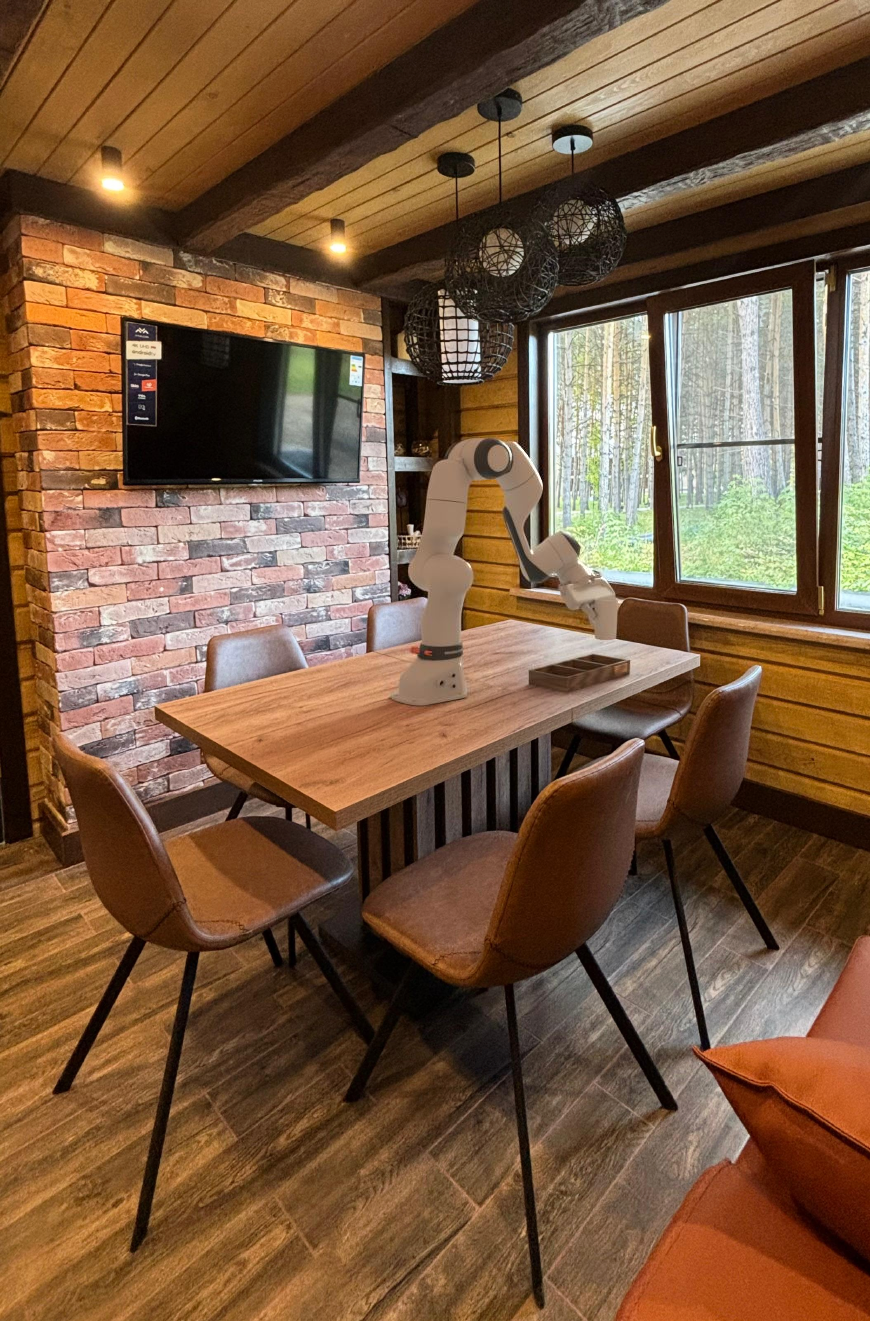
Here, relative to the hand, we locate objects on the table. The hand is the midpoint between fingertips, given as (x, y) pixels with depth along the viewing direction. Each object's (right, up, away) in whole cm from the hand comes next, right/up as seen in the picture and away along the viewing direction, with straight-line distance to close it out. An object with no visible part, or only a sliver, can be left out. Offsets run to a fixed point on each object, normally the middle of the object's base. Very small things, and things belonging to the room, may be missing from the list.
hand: (603, 615), depth 224 cm
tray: (-7, -19, -2) cm, 20 cm away
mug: (0, -7, +2) cm, 7 cm away
